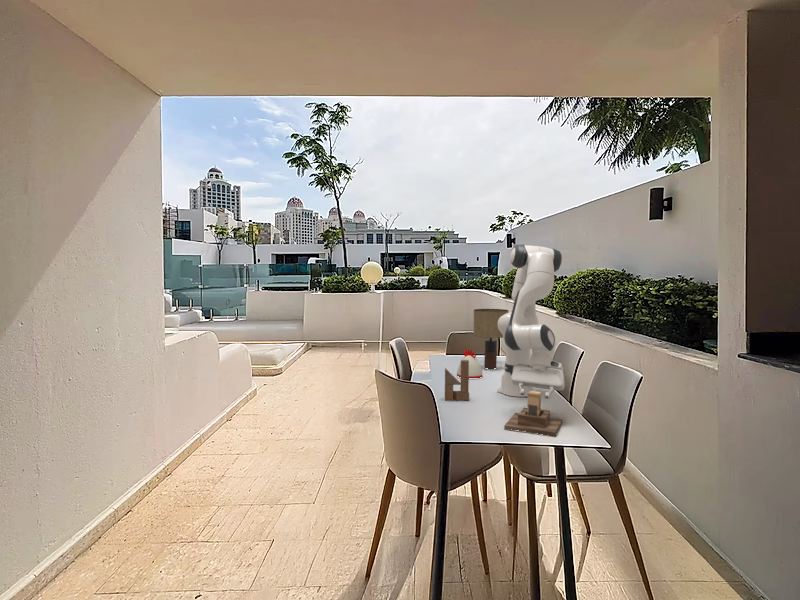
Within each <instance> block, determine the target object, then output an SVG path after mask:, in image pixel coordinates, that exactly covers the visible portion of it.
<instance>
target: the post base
mask: <svg viewBox="0 0 800 600" xmlns="http://www.w3.org/2000/svg"><path fill="white" fill-rule="evenodd" d="M563 422H564V421H563V418H559V417H554V416H553V417H552V416H551V410H547V409H541V416H534V415H527V407H522V409H521V410H520V412H515V413H513V415H512V416H511V417H510V418H509V419H508V421H507V422H506V423H505V424H504V427H503V429H504V430H505V429H512V430H519V431H526V432H531V433H530V434H532V433H538V434H537V435H539V434H543V435H542V436H546V435H549V436H548V437H553V436H555V437H557V435H558V432H559V430H560V429H561V426H562V425H563Z"/></svg>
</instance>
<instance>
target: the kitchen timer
mask: <svg viewBox="0 0 800 600" xmlns="http://www.w3.org/2000/svg"><path fill="white" fill-rule="evenodd" d="M462 353H463V356H464V357H463V358H462V359H461V360H469V378H480V377H482V378H483V370H482V367H481V364H480V362H479V360H478V359H477V358H476V357H477V354H475V352H474V351H473V350H472V349H465V350H463V352H462ZM457 376H459V377H461V361H460V362H459V364H458V368H457V372H456V377H457ZM480 379H481V378H480Z"/></svg>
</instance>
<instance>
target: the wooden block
mask: <svg viewBox="0 0 800 600" xmlns="http://www.w3.org/2000/svg"><path fill="white" fill-rule="evenodd" d="M460 362H461V378H460V381H459V380H458V379H457V377H455V376H454V375H453V373H451V372H450V371H449V370H448V369H447V368H446V367H444V400H445V401H447V400H452V401H470V392H469V382H470V379H469V360H462V359H461V360H460ZM457 385H458V386H460V390H454V386H457Z"/></svg>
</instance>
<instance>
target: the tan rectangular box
mask: <svg viewBox="0 0 800 600" xmlns="http://www.w3.org/2000/svg"><path fill="white" fill-rule="evenodd" d="M526 401H527V407H526V408H527V415H534V416H541V410H542V392H541V391H537V392H535V391H530V392H529V393H528V396H527V400H526Z"/></svg>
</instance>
